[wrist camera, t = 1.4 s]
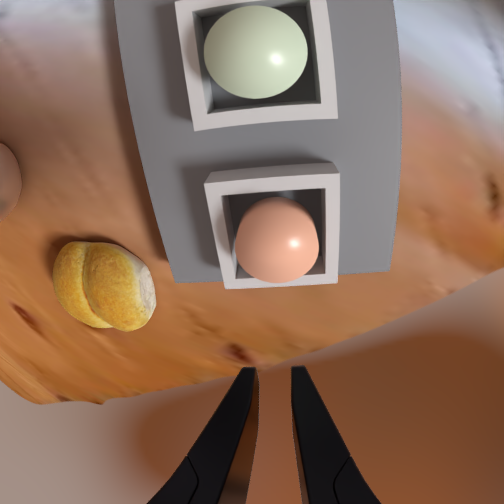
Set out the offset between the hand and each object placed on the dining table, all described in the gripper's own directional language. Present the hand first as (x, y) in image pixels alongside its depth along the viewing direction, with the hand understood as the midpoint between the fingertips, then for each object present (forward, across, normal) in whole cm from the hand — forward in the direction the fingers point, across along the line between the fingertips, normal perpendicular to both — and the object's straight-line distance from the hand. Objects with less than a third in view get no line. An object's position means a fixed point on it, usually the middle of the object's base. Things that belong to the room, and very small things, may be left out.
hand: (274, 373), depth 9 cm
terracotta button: (+9, 0, 0) cm, 9 cm away
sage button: (+9, 0, -9) cm, 13 cm away
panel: (+12, 0, -9) cm, 15 cm away
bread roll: (+12, +14, +5) cm, 19 cm away
